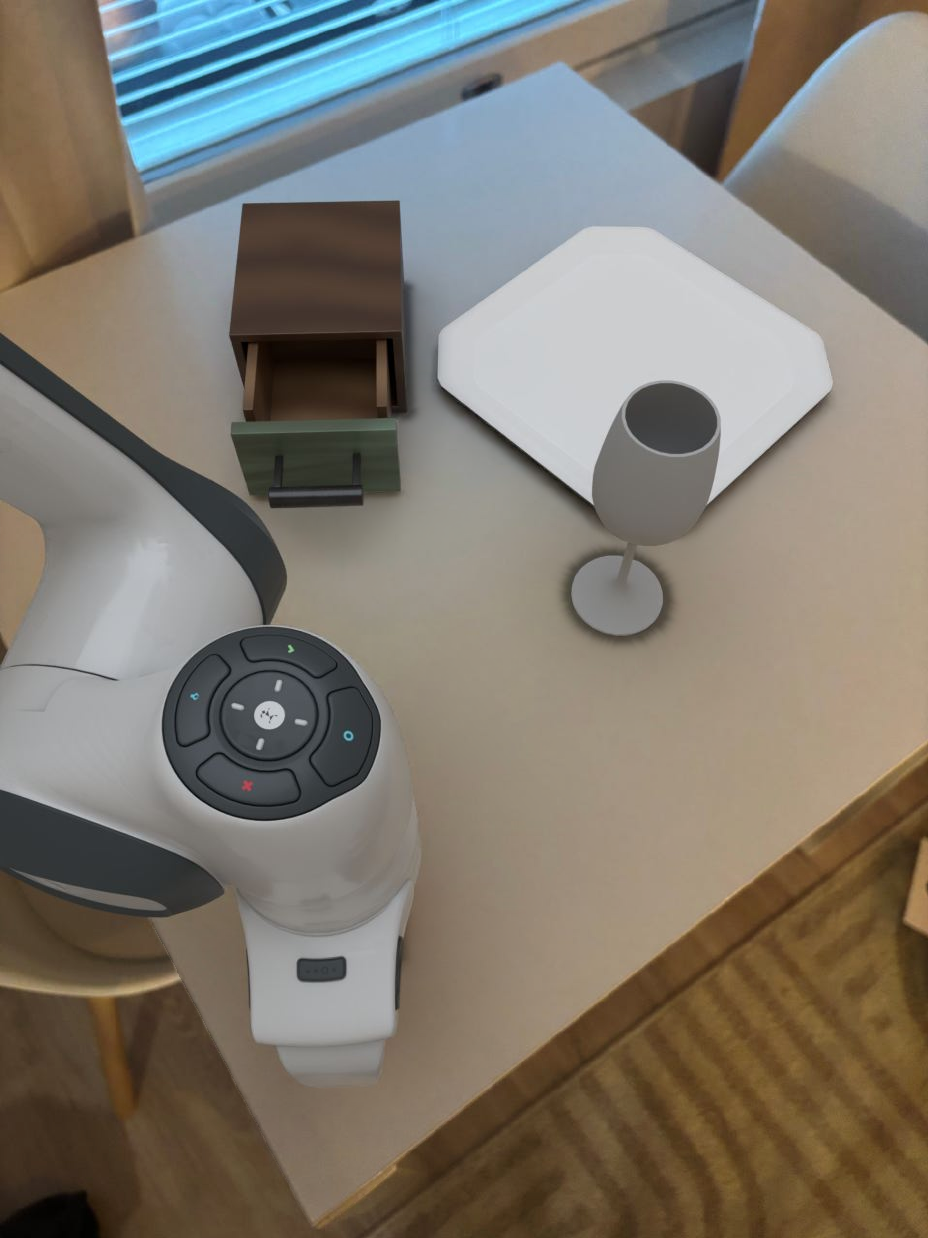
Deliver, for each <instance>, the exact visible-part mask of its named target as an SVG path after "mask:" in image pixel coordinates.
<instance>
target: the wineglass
mask: <svg viewBox="0 0 928 1238" xmlns="http://www.w3.org/2000/svg"><path fill="white" fill-rule="evenodd" d="M720 438H721V417H720V414H719V411H718V409H717V407H716V406H715V404H714V403H713V401H712V400H711V399H710V398H709V397H708V396H707V395H706V394H705V393H704V392H702V391H700V390H699V389H697V388H695V387H693V386H691V385H688V384H686V383H682V382H677V381H671V380H660V381H655V382H649V383H647V384H644V385H642V386H640V387H638V388H637V389H635V390H634V391H633V392H631V393H630V395H629V396H628V397H627V399H626V400H625V401H624V403H623V404H622V406H621V408H620V409H619V411H618V413H617V415H616V417H615V419H614V421H613V423H612V425H611V427H610V429H609V431H608V434H607V436H606V438H605V441H604V443H603V446H602V448H601V451H600V453H599V456H598V459H597V461H596V464H595V467H594V472H593V481H592V499H593V503H594V507H595V508H594V507H593V508H594V509H595V512H596V513H597V516H598V517H599V520H600V521H601V523H602V525H603V526H604V527H605V528H606V529H607V531H609V533H610V534H612V535H614V536H615V537H616V538H617V539H619V540H621V541H624V542H626V547H625V550H624V554H623V555H604V556H600V557H597V558H594V559H592V560H590V561H588V562H587V563H585V564H584V565H583V566H582V567H580V568H579V570H578V571H577V573H576V574H575V576H574V578H573V581H572V584H571V593H570V597H571V601H572V605H573V608H574V610H575V612H576V614H577V615H578V616H579V618H580V619H581V620H582V621H583V622H584V623H585V624H586V625H587V626H589V627H590V628H591V629H593V630H595V631H598V632H599V633H602V634H605V635H610V636H614V637H627V636H631V635H637V634H639V633H642V632H643V631H645V630H647V629H648V628H649V627H650V626H652V625H653V624H654V623H655V622H656V620H657V619H658V617H659V615H660V613H661V611H662V608H663V605H664V592H663V589H662V585H661V583H660V581H659V579H658V578H657V576H656V575H655V573H654V572H653V571H652V570H651V569H650V568H649V567H647V566H646V565H645V564H643V563H642V562H641V561H639V560H636V559H634V557H635V554H636V551H637V548H638V546H641V547H658V546H663V545H668V544H669V543H671V542H673V541H676V540H678V539H679V538H681V537H683V536H684V535H685V534H687V533H688V532H689V531H690V530H691V529H693V528H694V526H695V525H696V523H697V522H698V521H699V519H700V518H701V517H702V514H703V512H705V509H706V508H707V506H706V505H707V503H708V500H709V497H710V494H711V490H712V486H713V482H714V478H715V473H716V468H717V463H718V457H719V449H720Z"/></svg>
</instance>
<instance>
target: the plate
mask: <svg viewBox="0 0 928 1238" xmlns="http://www.w3.org/2000/svg"><path fill="white" fill-rule="evenodd" d="M829 363H830V362H829V359H828V356H827V352H826V347H825V343H824V339H823V338H822V337H821V336H820V335H819V334H818V332H816V331H815V330H814V329H812V328H810V327H809V326H807V325H806V324H803V323H802V322H801V321H799V320H797V319H796V318H794V317H793V316H791V315H789V314H788V313H786V312H785V311H783V310H781V309H780V308H778V307H777V306H775V305H774V304H773V303H771V302H769V301H767V300H766V299H764V298H763V297H761V296H760V295H758V294H757V293H755V292H753V291H752V290H750V289H748V288H747V287H745V286H743V285H742V284H740V283H739V282H738V281H736V280H734V279H733V278H731V277H730V276H728V275H726V274H725V273H723V272H722V271H721V270H719V269H717V268H715V267H714V266H712V265H711V264H709V263H707V262H706V261H705V260H703V259H701V258H700V257H698V256H696V255H695V254H694V253H691V252H690V251H688V250H687V249H686V248H684V247H683V246H681V245H679V244H677V243H676V242H674V241H673V240H672V239H670V238H668V237H666V236H665V235H664V234H661V233H660V232H659V231H657V230H655V229H654V228H651V227H647V226H609V225H608V226H602V225H592V226H589V227H585V228H583V229H581V230H580V231H578V232H577V233H576V234H574V235H573V236H571V237H570V238H568V239H567V240H566V241H564V242H563V243H561V244H560V245H558V246H557V247H555V248H554V249H553V250H552V251H549V252H548V253H547V254H546V255H545V256H543V257H542V258H540V259H538V260H537V261H536V262H535V263H533V264H532V265H531V266H529V267H527V268H526V269H525V270H523V271H522V272H520V273H518V274H517V275H516V276H514V277H513V278H511V280H509V281H507V282H506V283H505V284H503V285H502V286H501V287H499V288H498V289H496V290H495V291H493V292H491V294H489V295H488V296H487V297H485V298H484V299H482V300H481V301H479V302H478V303H477V304H475V305H474V306H472V307H471V308H470V309H468V310H467V311H465V312H464V313H463V314H461V315H459V316H458V317H457V318H456V319H454V320H452V321H451V322H450V323H448V324H447V325H445V326H444V327H443V328H442V329H440V332H439V334H438V335H437V364H436V365H437V366H436V368H437V370H436V381H437V383H438V385H439V386H440V388H441V390H443V391H444V392H445V393H447V394H448V395H449V396H450V397H452V398H453V399H454V400H455V401H456V402H458V403H460V404H461V405H462V406H464V407H465V408H466V409H467V410H469V411H470V412H471V413H472V414H474V415H475V416H476V417H477V418H478V419H480V420H481V421H483V422H484V423H485V424H487V425H488V427H490V428H492V430H494V431H495V432H496V433H498V434H499V435H500V436H502V437H503V438H504V439H505V440H507V441H508V443H509V442H510V443H511V444H512V445H513V446H514V447H516V448H517V449H518V450H519V451H521V452H522V453H524V455H526V456H528V458H530V459H531V460H533V462H535V464H538V465H539V466H540V467H541V468H542V469H544V470H545V471H546V472H548V473H549V474H550V475H552V477H554V478H555V479H556V480H558V481H559V482H560V483H561V484H563V485H564V486H566V487H567V488H568V489H569V490H570V491H572V492H573V493H574V494H576V495H577V496H578V497H579V498H581V499H582V500H583V501H584V502H586V503H587V504H588V505H590V506H591V507H592V508H593V509H595V507H594V503H593V499H592V481H593V472H594V467H595V464H596V461H597V459H598V456H599V453H600V451H601V448H602V446H603V443H604V441H605V438H606V436H607V434H608V431H609V429H610V427H611V425H612V423H613V421H614V419H615V417H616V415H617V413H618V411H619V409H620V408H621V406H622V404H623V403H624V401H625V400H626V399H627V397H628V396H629V395H630V393H631V392H633V391H634V390H635V389H637V388H638V387H640V386H642V385H644V384H647V383H649V382H655V381H660V380H671V381H677V382H682V383H686V384H688V385H691V386H693V387H695V388H697V389H699V390H700V391H702V392H704V393H705V394H706V395H707V396H708V397H709V398H710V399H711V400H712V401H713V403H714V404H715V406H716V407H717V409H718V411H719V414H720V417H721V438H720V449H719V457H718V463H717V468H716V473H715V478H714V482H713V486H712V490H711V494H710V497H709V500H708V503H707V505H706V507H708V506H709V505H710V504H711V503H712V502H713V501H715V500H716V499H717V497H719V496H720V495H721V494H722V493H723V492H724V491H725V490H727V488H728V487H729V486H731V485H732V483H734V482H735V481H736V480H737V479H738V478H739V477H740V476H742V474H743V473H745V472H746V471H747V470H748V469H749V468H750V467H751V466H752V465H753V464H754V463H756V462H757V461H758V460H759V459H760V458H761V457H762V456H763V455H764V454H765V453H766V452H767V451H768V450H770V449H771V448H772V447H773V446H774V445H775V444H776V443H777V442H778V441H780V439H782V438H783V437H784V436H785V435H786V434H787V433H788V432H789V431H790V430H792V428H794V426H796V425H797V424H798V423H799V422H800V421H801V420H802V419H803V418H805V416H806V415H807V414H808V413H810V412H811V411H812V410H813V409H814V408H815V407H816V406H817V405H818V404H819V403H821V401H823V400H824V399H825V398H826V397H827V396H828V395H830V393H831V392H832V389H833V386H834V381H833V376H832V373H831V368H830V364H829Z"/></svg>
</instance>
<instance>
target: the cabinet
mask: <svg viewBox="0 0 928 1238" xmlns="http://www.w3.org/2000/svg"><path fill="white" fill-rule="evenodd" d="M239 223H240V225H239V234H238V242H237V254H236V262H235V272H234V273H235V274H234V284H233V291H232V292H233V294H232V303H231V310H230V311H231V312H230V322H229V332H228V337H229V340H230V344H231V348H232V351H233V355H234V358H235V362H236V365H237V370H238V372H239V376H240V380H241V383H242V386H243V389H244V388H245V376H246V365H247V354H248V342H260V341H302V340H345V339H388V338H389V339H390V352H391V409H392V414H394V413H395V414H396V413H397V414H399V413H407V412H408V396H407V395H408V394H407V393H408V389H407V347H406V345H407V343H406V341H407V339H406V297H405V296H406V295H405V290H406V289H405V273H404V271H405V269H404V253H403V252H404V251H403V235H402V215H401V201H400V199H399V200H398V199H397V200H350V201H349V200H348V201H346V200H345V201H344V200H343V201H299V202H297V201H296V202H295V201H291V202H290V201H289V202H246V203H245V202H244V203H242V206H241V215H240V222H239Z"/></svg>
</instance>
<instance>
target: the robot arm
mask: <svg viewBox="0 0 928 1238" xmlns="http://www.w3.org/2000/svg"><path fill="white" fill-rule="evenodd" d="M0 500H1V501H2V502H4V503H6V504H7V505H9V506H10V507H13V508H15V509H16V510H17V511H20V512H21V513H22V514H25V515H26V516H29V517H30V518H32V519H33V520H35V521H36V523H37V524H38V525H39V527H40V530H41V533H42V535H43V536H42V537H43V539H44V565H43V570H42V573H41V574H42V575H41V578H40V581H39V584H38V586H37V588H36V589H35V592H34V594H33V597H32V598H31V601H30V602H29V604H28V607H27V608H26V611H25V613H24V615H23V617H22V619H21V622H20V624H19V626H18V627H17V630H16V632H15V634H14V636H13V638H12V641H11V643H10V645H9V647H8V649H7V651H6V653H5V656H4V658H3V660H2V661H1V664H0V871H2V872H3V873H4V874H6V875H9V876H10V877H13V878H14V879H16V880H18V881H20V882H22V883H23V884H26V885H28V886H30V887H32V888H34V889H36V890H39V891H40V892H43V893H46V894H48V895H50V896H52V897H55V898H58V899H61V900H63V901H66V902H69V903H72V904H75V905H79V906H82V907H86V908H89V909H92V910H97V911H101V912H106V913H110V914H116V915H123V916H131V917H141V918H157V919H158V918H170V917H173V916H176V915H180V914H182V913H187V912H189V911H192V910H195V909H199V908H200V907H203V906H206V905H208V904H210V903H212V902H213V901H216V900H217V899H219V898H221V897H222V896H223V895H225V890H226V889H228V888H234V889H235V890H234V892H235V898H236V904H237V908H238V912H239V916H240V920H241V924H242V929H243V933H244V939H245V945H246V948H245V949H246V950H245V951H246V968H247V969H246V970H247V983H248V984H247V985H248V988H247V989H248V1008H249V1012H250V1016H249V1017H250V1031H251V1035H252V1038H253V1040H254V1042H255V1043H257V1044H258V1045H262V1046H269V1047H270V1046H271V1047H275V1049H276V1052H277V1056H278V1059H279V1061H280V1063H281V1065H282V1067H283V1069H285V1070H286V1072H287V1073H288V1074H289V1075H290V1076H291V1077H292V1078H293V1079H294V1080H296V1081H297V1082H298V1083H300V1084H302V1085H303V1086H305V1087H308V1088H313V1089H314V1088H315V1089H322V1088H323V1089H331V1088H332V1089H334V1088H352V1087H366V1086H373V1085H376V1084H377V1083H379V1081H380V1080H381V1077H382V1073H383V1066H384V1058H385V1053H386V1052H385V1051H386V1050H385V1049H386V1041H387V1040H389V1039H393V1038H394V1037H395V1035H396V1033H397V1030H398V1027H399V1024H398V1023H399V1009H400V1006H401V980H402V965H403V955H404V945H405V944H404V939H405V933H406V928H407V925H408V921H409V918H410V913H411V909H412V906H413V902H414V898H415V886H416V883H417V881H418V877H419V873H420V869H421V863H422V839H421V832H420V826H419V825H420V824H419V818H418V812H417V806H416V801H415V797H414V785H413V774H412V770H411V764H410V760H409V756H408V755H409V754H408V751H407V747H406V743H405V740H404V736H403V734H402V729H401V727H400V724H399V721H398V718H397V715H396V714H395V711H394V709H393V707H392V705H391V703H390V701H389V699H388V698H387V696H386V694H385V693H384V692H383V689H381V687H380V686H379V684H378V683H377V681H376V680H375V679H373V677H372V676H371V675H370V674H369V672H368V671H367V670H366V669H365V668H364V667H363V666H362V665H361V664H360V663H359V662H358V661H357V660H356V659H355V658H354V657H353V656H351V655H350V654H349V653H348V652H347V651H345V650H344V649H342V648H341V647H339V646H338V645H337V644H336V643H334V642H333V641H331V640H329V639H327V638H326V637H324V636H321V635H319V634H317V633H315V632H312V631H309V630H307V629H304V628H300V627H295V626H291V625H285V624H284V625H283V624H272V621H273V620H274V617H275V614H276V613H277V610H278V608H279V605H280V603H281V600H282V598H283V596H284V593H285V591H286V589H287V584H288V573H287V568H286V564H285V562H284V559H283V557H282V555H281V552H280V550H279V548H278V545H277V543H276V542H275V540H274V538H273V536H272V534H271V532H270V531H269V529H268V528H267V526H266V525H265V523H264V521H263V520H262V519H261V517H260V516H259V515H258V514H257V512H256V511H255V510H254V509H253V508H252V507H251V506H250V505H249V504H248V503H247V502H246V501H245V500H243V499H242V498H241V497H240V496H239V495H237V494H235V493H234V492H232V491H231V490H230V489H228V488H226V487H224V486H223V485H221V484H219V483H218V482H215V481H214V480H212V479H210V478H208V477H206V476H204V475H202V474H200V473H199V472H196V471H195V470H192V469H191V468H189V467H187V466H184V465H182V464H181V463H180V462H177V461H175V460H174V459H172V458H170V457H168V456H166V455H165V454H163V453H162V452H160V451H158V450H157V449H155V448H154V447H153V446H152V445H150V444H148V443H147V442H146V441H144V440H143V439H142V438H141V437H140V436H138V435H137V434H135V433H134V432H132V431H131V430H130V429H129V428H128V427H126V426H125V425H123V424H122V423H121V422H119V421H118V420H117V419H116V418H114V417H113V416H111V414H109V413H107V412H106V411H105V410H104V409H103V408H101V407H100V406H98V405H97V404H95V403H94V402H93V401H92V400H90V399H89V398H88V397H86V396H85V395H84V394H83V393H81V392H80V391H78V389H76V388H75V387H73V386H72V385H70V384H69V383H68V382H66V380H64V379H63V378H61V377H60V376H58V375H57V374H56V373H55V372H54V371H52V370H51V369H50V368H48V367H47V366H45V365H44V364H43V363H42V362H40V361H39V360H38V359H36V358H35V357H34V356H32V355H31V354H29V353H28V352H27V351H26V350H24V349H23V348H22V347H21V346H20V345H18V344H16V343H15V342H14V341H13V340H11V339H10V338H8V337H7V336H5V335H4V334H3V333H2V332H0Z"/></svg>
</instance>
